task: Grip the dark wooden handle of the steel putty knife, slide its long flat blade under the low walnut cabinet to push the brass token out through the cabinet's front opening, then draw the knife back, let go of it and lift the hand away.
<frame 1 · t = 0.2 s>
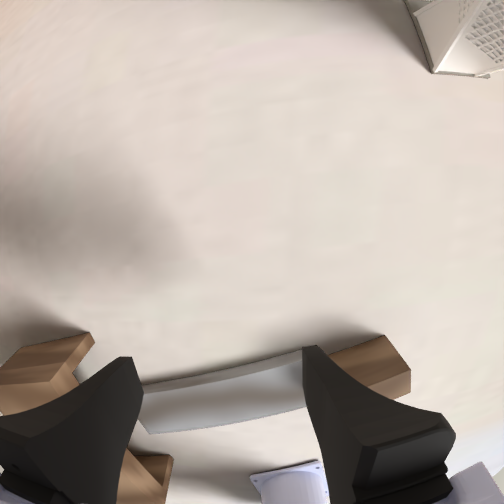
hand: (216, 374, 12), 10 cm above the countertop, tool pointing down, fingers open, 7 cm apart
skyscraper: (446, 45, 17), on the countertop
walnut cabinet: (95, 411, 25), on the countertop
putty knife: (353, 358, 23), on the countertop
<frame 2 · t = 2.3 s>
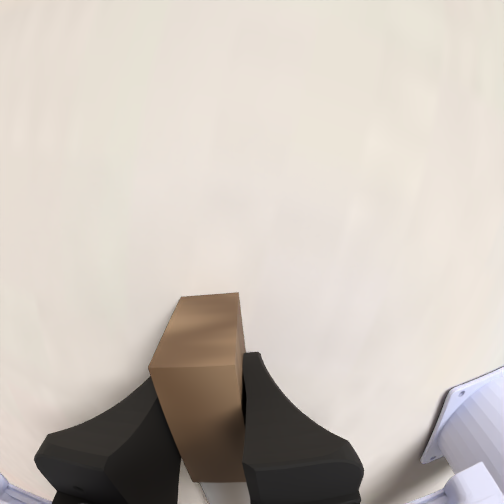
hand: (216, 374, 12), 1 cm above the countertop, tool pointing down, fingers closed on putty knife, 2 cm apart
putty knife: (219, 355, 13), on the countertop, touching gripper
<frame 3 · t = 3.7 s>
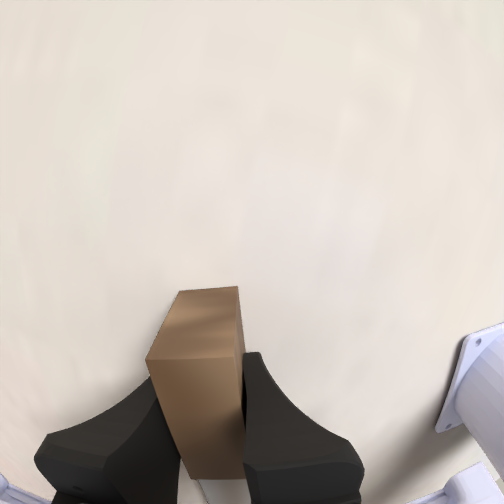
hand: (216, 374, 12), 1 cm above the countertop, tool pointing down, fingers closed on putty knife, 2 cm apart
putty knife: (218, 350, 13), on the countertop, touching brass token, gripper
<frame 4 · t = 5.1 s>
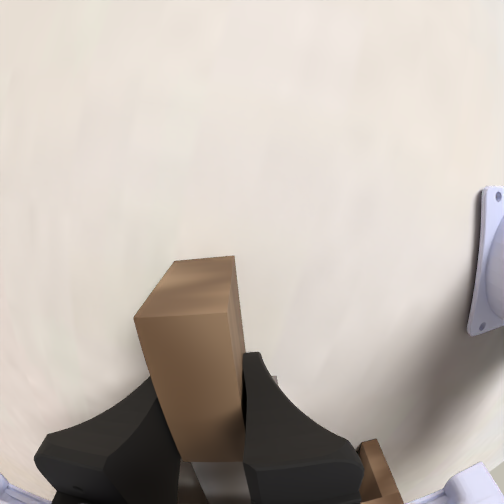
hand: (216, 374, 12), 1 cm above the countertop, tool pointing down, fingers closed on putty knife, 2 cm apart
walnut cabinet: (248, 494, 17), on the countertop
putty knife: (214, 325, 13), on the countertop, touching brass token, gripper
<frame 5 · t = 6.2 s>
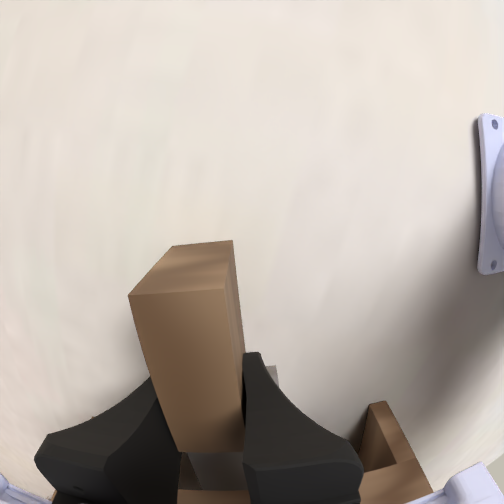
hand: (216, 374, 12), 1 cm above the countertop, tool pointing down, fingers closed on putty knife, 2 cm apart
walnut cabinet: (242, 471, 16), on the countertop
putty knife: (211, 312, 13), on the countertop, touching brass token, gripper
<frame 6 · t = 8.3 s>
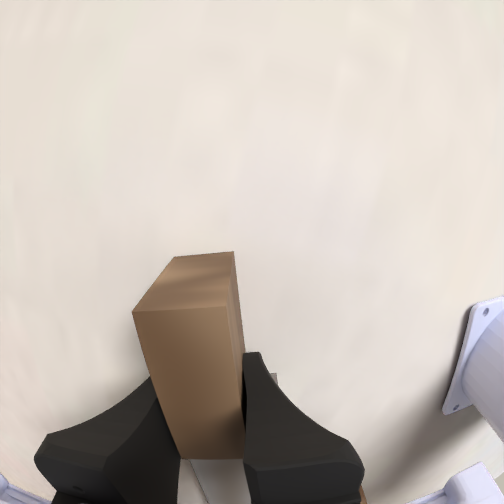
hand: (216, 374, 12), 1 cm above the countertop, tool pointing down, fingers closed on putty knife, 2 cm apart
putty knife: (213, 322, 13), on the countertop, touching gripper
when the fingers open (1 cm above the countertop, at t = 9.4 s): putty knife stays where it is, on the countertop.
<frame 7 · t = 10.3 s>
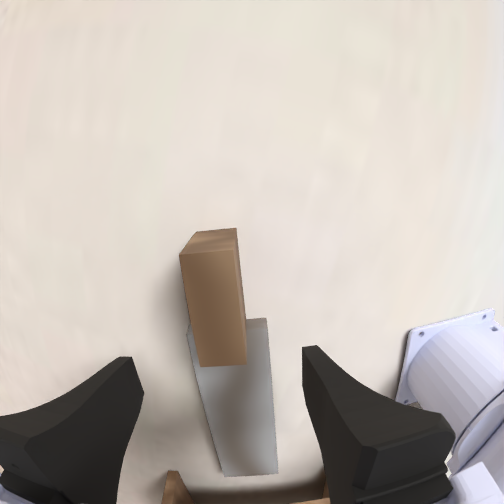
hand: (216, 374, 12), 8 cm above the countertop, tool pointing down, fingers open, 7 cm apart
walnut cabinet: (256, 492, 25), on the countertop
putty knife: (221, 277, 19), on the countertop
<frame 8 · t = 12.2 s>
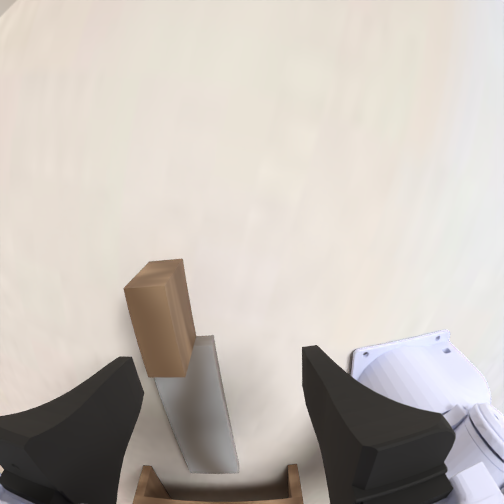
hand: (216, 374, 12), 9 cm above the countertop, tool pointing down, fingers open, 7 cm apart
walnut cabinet: (224, 489, 28), on the countertop
putty knife: (173, 300, 21), on the countertop
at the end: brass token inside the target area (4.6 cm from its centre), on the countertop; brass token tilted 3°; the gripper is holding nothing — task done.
